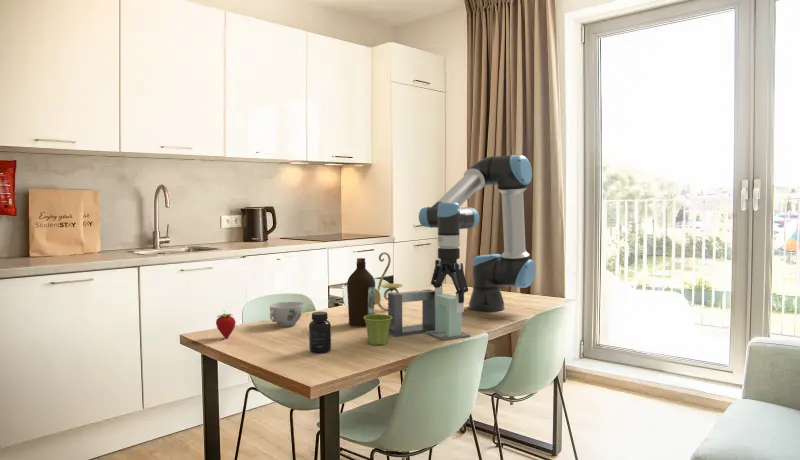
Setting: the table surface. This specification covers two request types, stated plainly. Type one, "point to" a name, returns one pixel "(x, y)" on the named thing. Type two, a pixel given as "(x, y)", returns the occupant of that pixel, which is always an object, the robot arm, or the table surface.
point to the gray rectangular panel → (443, 336)
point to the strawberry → (225, 324)
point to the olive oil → (360, 294)
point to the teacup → (286, 313)
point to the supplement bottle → (319, 333)
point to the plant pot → (377, 328)
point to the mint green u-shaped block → (447, 315)
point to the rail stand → (396, 312)
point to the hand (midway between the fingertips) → (448, 308)
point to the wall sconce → (390, 286)
